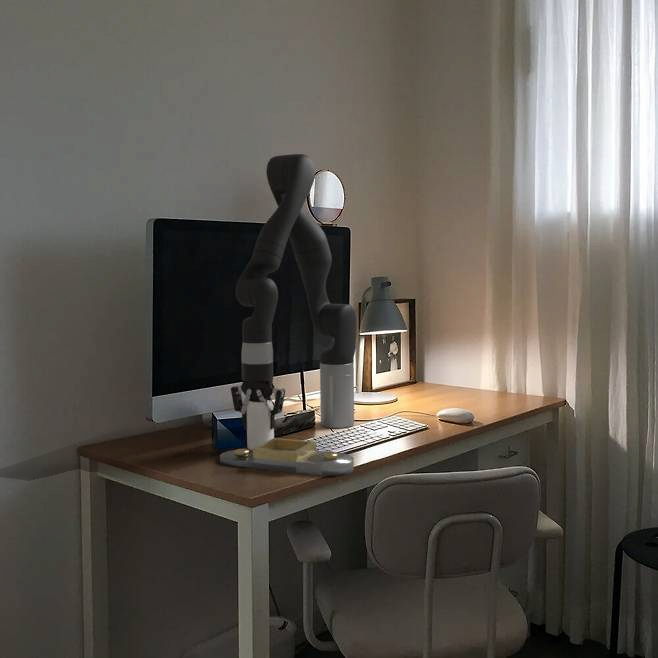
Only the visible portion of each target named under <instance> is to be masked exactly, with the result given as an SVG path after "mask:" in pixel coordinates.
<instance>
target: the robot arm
mask: <svg viewBox="0 0 658 658" xmlns="http://www.w3.org/2000/svg"><path fill="white" fill-rule="evenodd" d="M265 171H266V179H267V182H268V185H269V186H268V187H269V188H270V191H271V193H272V195H273V198H274V200H275V202H276V205H277V208H276V210H275V211H274V212H273V213H272V215H271V216H270V217H269V218H268V219H267V221H266V222H265V223H264V225H263V227H262V228H261V230H260V232H259V234H258V236H257V239H256V242H255V246H254V249H253V252H252V256H251V258H250V260H249V262H247V264H246V266H245V268H244V269H243V271H242V273H241V274H240V276H239V278H238V280H237V282H236V285H235V297H236V300H237V302H238V303H239V304H240V305H242V306H244V307H251V308H252V307H254V308H253V313H252V315H251V316H249V317H247V318H244V320H243V321H242V333H241V334H242V344H241V345H242V346H241V356H240V358H241V380H242V383H241V385H234V386H232V387H230V392H231V398H232V403H233V404H232V405H233V409H234V411H235V412H239V413H240V414H241V424H242V425H241V426H242V427H243V430H246V431H247V405H248V403H249V401H255V402H257V401H258V402H264V404H265V406H267V407H268V403H267V402H266V401H270V400H271V399H272V395H273V397H274V401H273V399H272V400H271V402H272V404H273V410H270V408H269V407H268V409H269V413H268V415H269V416H270V429H273V428H274V429H275V426H276V425H275V416H276V415H277V414H280V413H282V412H283V407H284V401H285V395H286V389H285V388H281V389H280V388H277V387H275V385H274V383H273V381H274V348H273V335H272V334H273V333H272V331H273V329H272V326H273V325H272V324H273V321H274V317H275V314H276V310H277V305H278V301H279V291H278V287H277V284H276V283H275V282H274V280H273V279H271V278H268V277H267V276H268V275H269V274H272V273H274V272H277V271H278V270H279V268H280V266H281V263H282V260H283V256H284V254H285V253H284V252H285V249H286V247H287V243H288V240H290V243H291V246H292V247H291V248H292V250H293V251H292V252H293V255H294V257H295V261H296V264H297V267H298V269H299V272H300V275H301V279H302V283H303V286H304V290H305V294H306V297H307V302H308V303H307V304H308V308H309V314H310V317H311V318H310V319H311V322H312V325H313V328H314V330H315V332H316V333H317V334H318V335H319V336H320V337H323V338H333V339H334V343H333V345H332V346H331V348H328V349H326V350H323V351H321V352H320V354H319V383H320V384H319V385H320V386H319V388H320V389H319V391H320V397H319V398H320V399H319V400H320V425H321V426H322V427H325V428H331V429H332V428H333V429H340V428H341V429H342V428H349V427H352V426H355V377H354V376H355V373H354V372H355V371H354V370H355V368H354V367H355V366H354V365H355V363H354V361H355V354H356V347H357V325H358V324H357V313H356V311H355V308H354V306H352V305H351V304H348V303H347V304H346V303H331V302H330V300H329V297H328V294H327V289H326V286H327V285H326V283H327V281H328V280H327V279H328V275H329V272H330V270H331V267H332V261H333V259H332V253H331V249H330V246H329V242H328V238H327V236H326V233H325V231H324V230H323V229H322V227H321V226H320V225H319V223H318V222H317V221H316V220H315V219H314V218H313V217H312V216H311V214H310V213H309V212H308V211H307V210H306V209H305V207H304V204H305V202H306V200H307V197H308V196H309V194H310V192H311V189H312V187H313V185H314V182H315V178H316V167H315V163H314V161H313V159H312V158H311V157H310V156H308V155H307V154H305V153H297V154H296V153H294V154H281V155H276V156H272V157H271V158H270V159H269V160H268V162H267V165H266V170H265ZM242 394H244V399H243V396H242Z"/></svg>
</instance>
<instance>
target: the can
mask: <svg viewBox="0 0 658 658" xmlns="http://www.w3.org/2000/svg"><path fill="white" fill-rule="evenodd" d="M271 400H272V401H273V398H271ZM271 400H270V401H266V402H267V403H268V407H269V408H270V410H273V407H274V403H273V404H272V402H271ZM268 407H267V406H265V404H264V402H258V401H257V402H255V401H249V403H248V405H247V430H246V440H247V441H246V442H247V444H246V445H247V449H251V450H253V448H255V447H257V446H259V445H261V444H263V443H265V442H267V441H269V440H271V439H273V438H275V427H274V428H273V429H270V416H269V415H268V413H269V409H268Z"/></svg>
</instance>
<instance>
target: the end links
mask: <svg viewBox="0 0 658 658" xmlns="http://www.w3.org/2000/svg"><path fill="white" fill-rule="evenodd" d="M354 459H355V458H354V456H352V455H350V454H348V453H343V452H334V451H325V450H324V451H322V450H317V441H311V440H303V439H301V440H300V439H289V438H288V439H287V438H279V437H274V438H273V439H271V440H269V441H267V442H265V443H263V444H261V445H259V446H257V447H255V448H253V450H251V449H249V448H238V449H232V450H228V451H225V452H224V451H223V452H222V453H221V454H220V455H219V461H220V463H221V464H222V465H226V466H230V467H231V466H232V467H240V468H250V469H258V470H270V471H277V472H278V471H279V472H288V473H296V474H303V475H307V474H308V475H314V476H324V477H334V476H344V475H348V474H350V473H352V472H353V471H354V469H355V464H354V461H355V460H354Z"/></svg>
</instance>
